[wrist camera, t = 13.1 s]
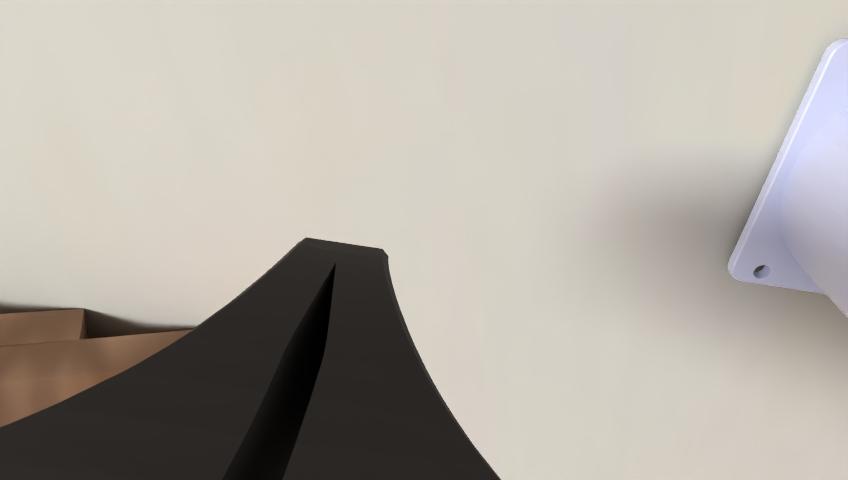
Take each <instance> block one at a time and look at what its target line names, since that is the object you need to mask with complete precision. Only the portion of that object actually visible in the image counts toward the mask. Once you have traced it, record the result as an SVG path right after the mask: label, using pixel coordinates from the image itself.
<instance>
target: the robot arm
mask: <svg viewBox="0 0 848 480" xmlns="http://www.w3.org/2000/svg"><path fill="white" fill-rule="evenodd" d="M760 265H764V268H763V269H762V270H760V271H758V272H754V270H755V269H756V267H758V266H760ZM728 271H729V273H730V274H731V275H732V277H733V278H734V279H735V280H738V281H742V282H748V283H755V284H762V285H768V286H775V287H781V288H788V289H795V290H801V291H808V292H814V293H821V294H826V295H827V296H828V297H829V298H830V300H831V301H832V302H833V303H834V304H835V305H836V306H837V307H838V308H839V309H840V310H841V312H842V313H843V314H844V315H845V316H846V317H847V318H848V38H842V39H840V40H837V41H835V42H834V43H832V44H831V45H830V46H829V47H828V48H827V50H826V51H825V53H824V55H823V57H822V59H821V61H820V63H819V65H818V68H817V70H816V72H815V74H814V76H813V79H812V81H811V83H810V85H809V87H808V89H807V92H806V94H805V96H804V98H803V100H802V103H801V105H800V107H799V109H798V111H797V114H796V116H795V118H794V120H793V122H792V124H791V127H790V129H789V131H788V133H787V135H786V138H785V140H784V142H783V144H782V146H781V148H780V151H779V153H778V155H777V157H776V159H775V162H774V164H773V166H772V168H771V170H770V173H769V175H768V177H767V179H766V181H765V183H764V186H763V188H762V190H761V192H760V194H759V197H758V199H757V201H756V203H755V205H754V207H753V210H752V212H751V214H750V216H749V218H748V221H747V223H746V225H745V227H744V229H743V231H742V234H741V236H740V238H739V240H738V242H737V245H736V247H735V249H734V251H733V253H732V256H731V258H730V260H729V262H728ZM0 480H501V479H500V478H499V477H498V476H497V474H496V473H495V472H494V470H493V469H492V468H491V467H490V465H489V464H488V463H487V462H486V460H485V459H484V458H483V457H482V455H481V454H480V453H479V452H478V450H477V449H476V448H475V447H474V445H473V444H472V442H471V441H470V440H469V438H468V437H467V435H466V434H465V432H464V431H463V429H462V428H461V426H460V425H459V423H458V422H457V420H456V419H455V417H454V416H453V414H452V413H451V411H450V410H449V408H448V406H447V405H446V403H445V401H444V400H443V398H442V397H441V395H440V393H439V392H438V390H437V388H436V386H435V385H434V383H433V381H432V379H431V377H430V375H429V373H428V372H427V370H426V368H425V366H424V364H423V362H422V360H421V357H420V355H419V353H418V351H417V349H416V347H415V345H414V343H413V340H412V338H411V336H410V333H409V331H408V328H407V326H406V323H405V321H404V318H403V315H402V313H401V310H400V308H399V305H398V302H397V299H396V296H395V292H394V288H393V285H392V281H391V277H390V272H389V265H388V255H387V254H386V253H385V252H384V250H383V249H379V248H372V247H366V246H359V245H352V244H346V243H339V242H332V241H326V240H319V239H312V238H305V239H303V240H302V241H300V242H299V243H298V244H297V245H296V246H295V247H293V248H292V249H291V250H290V251H289V252H288V253H287V254H286V255H285V256H284V257H283V258H282V259H281V260H280V261H278V262H277V263H276V264H275V265H274V266H273V267H272V268H271V269H270V270H268V271H267V272H266V273H265V274H264V275H263V276H262V277H260V278H259V279H258V280H257V281H256V282H254V283H253V284H252V285H251V286H250V287H248V288H247V289H246V290H245V291H243V292H242V293H241V294H240V295H239V296H237V297H236V298H235V299H234V300H232V301H231V302H230V303H228V304H227V305H226V306H225V307H223V308H222V309H220V310H219V311H218V312H216V313H215V314H213V315H212V316H211V317H209V318H208V319H207V320H205V321H204V322H202V323H201V324H200V325H198V326H197V327H195V328H194V329H193V330H191V331H190V332H188V333H187V334H185V335H184V336H182V337H181V338H179V339H178V340H176V341H175V342H173V343H172V344H170V345H168V346H167V347H165V348H164V349H162V350H160V351H159V352H157V353H155V354H153V355H152V356H150V357H148V358H147V359H145V360H143V361H141V362H140V363H138V364H136V365H134V366H132V367H130V368H129V369H127V370H125V371H123V372H121V373H119V374H117V375H115V376H113V377H111V378H109V379H107V380H105V381H102V382H100V383H98V384H96V385H94V386H92V387H90V388H88V389H86V390H84V391H82V392H80V393H78V394H76V395H74V396H72V397H70V398H68V399H65V400H63V401H61V402H59V403H57V404H55V405H53V406H50V407H48V408H46V409H43V410H41V411H39V412H36V413H34V414H31V415H29V416H27V417H24V418H22V419H20V420H17V421H15V422H12V423H10V424H8V425H5V426H2V427H0Z"/></svg>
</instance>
